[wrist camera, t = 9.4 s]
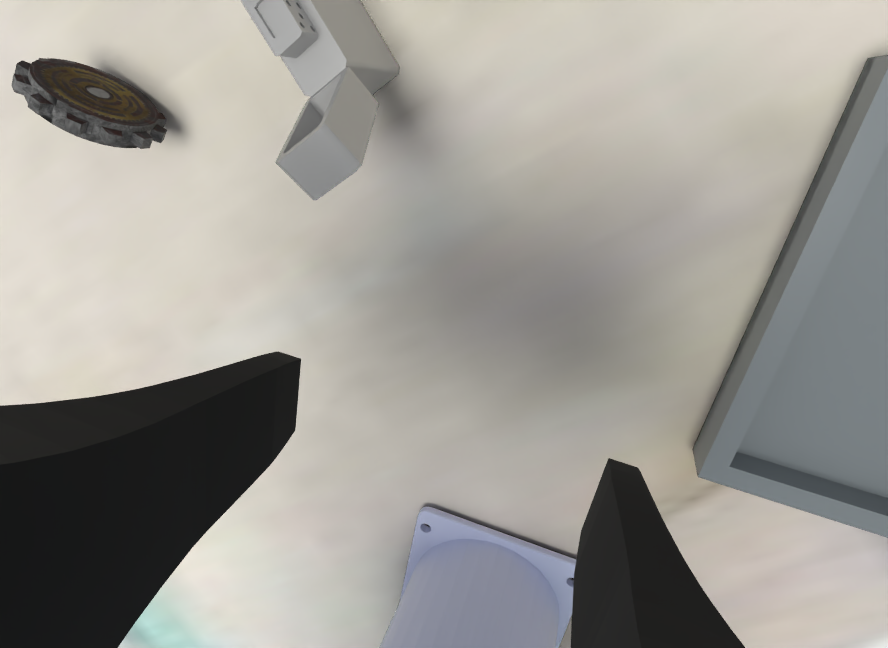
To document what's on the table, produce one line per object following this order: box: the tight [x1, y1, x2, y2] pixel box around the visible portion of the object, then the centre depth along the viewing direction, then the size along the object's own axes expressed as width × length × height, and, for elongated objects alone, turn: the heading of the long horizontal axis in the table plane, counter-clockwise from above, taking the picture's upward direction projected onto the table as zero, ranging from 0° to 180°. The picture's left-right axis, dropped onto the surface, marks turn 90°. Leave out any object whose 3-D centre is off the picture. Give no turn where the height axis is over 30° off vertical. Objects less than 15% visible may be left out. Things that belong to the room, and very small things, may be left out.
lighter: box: [241, 0, 399, 200], centre depth 17 cm, size 7×2×8 cm, turn 34°
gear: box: [12, 58, 167, 149], centre depth 21 cm, size 5×1×5 cm, turn 57°
